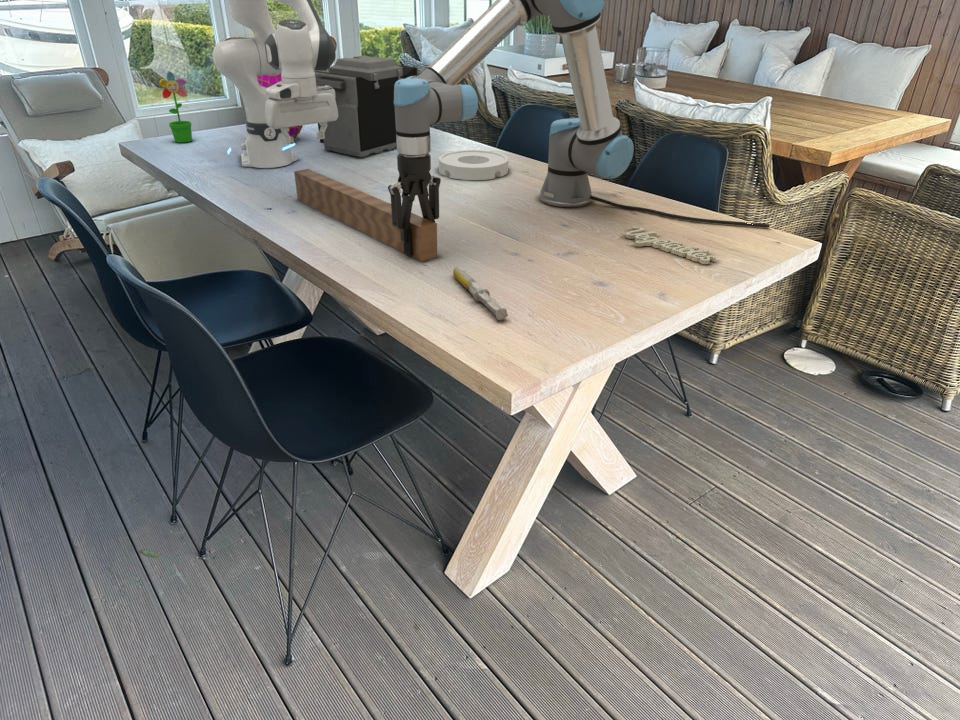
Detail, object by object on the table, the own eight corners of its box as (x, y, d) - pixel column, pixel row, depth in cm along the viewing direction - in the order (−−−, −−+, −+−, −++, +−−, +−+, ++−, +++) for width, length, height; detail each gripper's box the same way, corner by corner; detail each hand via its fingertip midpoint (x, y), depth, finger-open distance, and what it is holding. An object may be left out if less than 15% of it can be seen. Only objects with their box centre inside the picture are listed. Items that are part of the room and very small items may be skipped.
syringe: (449, 274, 155) (449, 263, 153) (465, 272, 156) (464, 260, 154) (490, 323, 135) (491, 310, 133) (508, 319, 136) (508, 307, 134)
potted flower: (172, 144, 257) (157, 72, 244) (170, 139, 263) (155, 69, 250) (199, 141, 260) (185, 71, 248) (196, 137, 266) (182, 68, 254)
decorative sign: (611, 234, 176) (635, 225, 181) (610, 237, 176) (634, 229, 182) (700, 264, 159) (723, 254, 164) (699, 268, 159) (723, 257, 165)
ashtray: (441, 160, 240) (441, 149, 238) (507, 162, 240) (508, 150, 237) (436, 179, 220) (435, 167, 218) (508, 180, 220) (508, 168, 218)
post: (437, 257, 164) (436, 223, 159) (422, 262, 161) (421, 227, 157) (311, 197, 203) (308, 168, 199) (297, 200, 201) (294, 171, 196)
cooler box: (383, 133, 276) (378, 52, 261) (425, 141, 265) (422, 56, 250) (314, 150, 251) (304, 61, 235) (358, 160, 240) (350, 67, 224)
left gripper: (328, 83, 191) (333, 134, 198) (259, 90, 179) (267, 144, 186) (340, 85, 187) (344, 138, 194) (270, 93, 175) (277, 148, 182)
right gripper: (434, 144, 161) (436, 239, 173) (371, 156, 151) (377, 255, 163) (454, 150, 156) (455, 247, 168) (390, 163, 146) (396, 265, 158)
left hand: (306, 141), depth 190 cm, fingers open, 8 cm apart
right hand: (417, 251), depth 165 cm, fingers closed on post, 5 cm apart
